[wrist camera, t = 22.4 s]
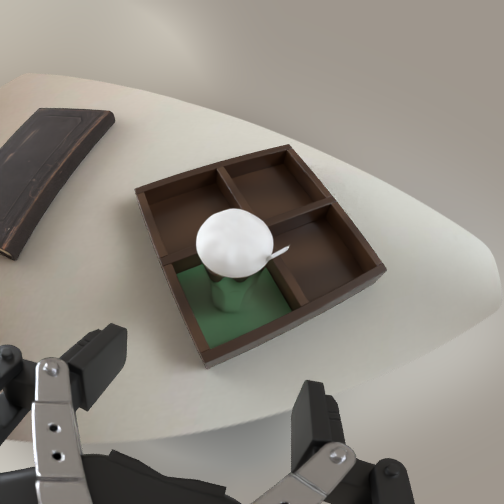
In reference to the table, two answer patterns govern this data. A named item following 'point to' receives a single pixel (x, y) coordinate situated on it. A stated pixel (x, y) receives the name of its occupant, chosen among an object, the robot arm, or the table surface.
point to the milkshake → (234, 256)
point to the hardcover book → (42, 167)
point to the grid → (281, 267)
